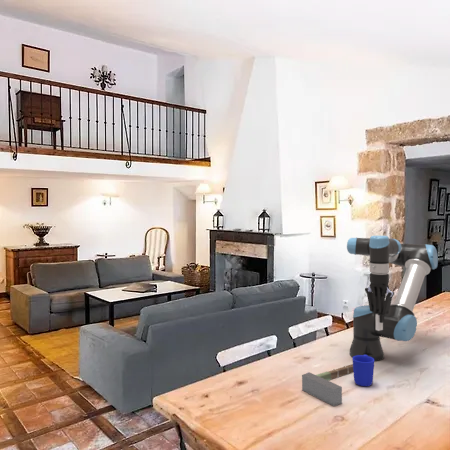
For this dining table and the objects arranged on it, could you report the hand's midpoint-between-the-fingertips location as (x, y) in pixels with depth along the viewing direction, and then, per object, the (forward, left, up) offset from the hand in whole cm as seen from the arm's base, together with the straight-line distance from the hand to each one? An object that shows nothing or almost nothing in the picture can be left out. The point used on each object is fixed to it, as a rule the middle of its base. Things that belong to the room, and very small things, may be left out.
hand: (379, 329), depth 177 cm
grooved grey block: (+2, -36, -18) cm, 40 cm away
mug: (+2, -12, -19) cm, 22 cm away
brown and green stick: (-8, -18, -18) cm, 27 cm away
